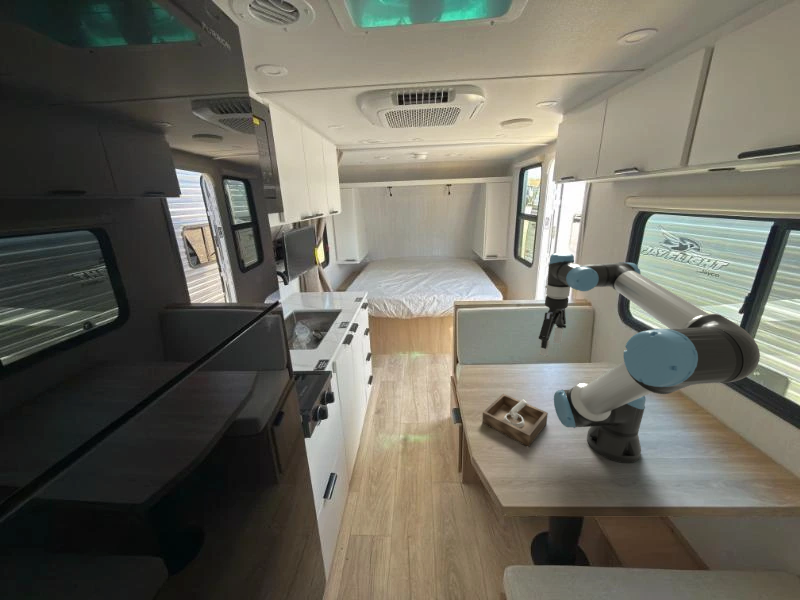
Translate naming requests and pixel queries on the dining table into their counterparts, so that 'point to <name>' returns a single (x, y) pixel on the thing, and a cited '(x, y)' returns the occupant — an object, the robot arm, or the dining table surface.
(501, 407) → the wooden tray
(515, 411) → the hook
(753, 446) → the dining table surface
